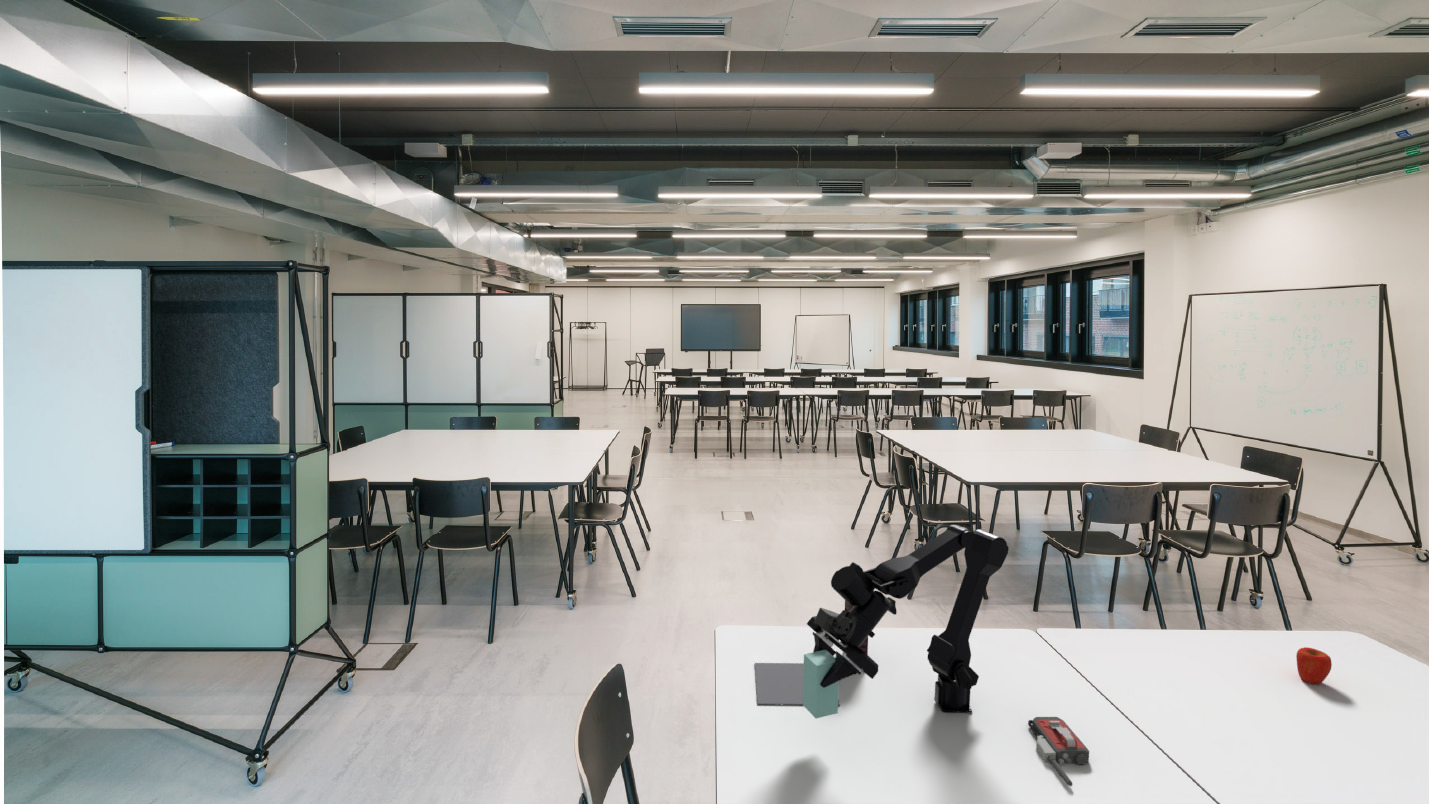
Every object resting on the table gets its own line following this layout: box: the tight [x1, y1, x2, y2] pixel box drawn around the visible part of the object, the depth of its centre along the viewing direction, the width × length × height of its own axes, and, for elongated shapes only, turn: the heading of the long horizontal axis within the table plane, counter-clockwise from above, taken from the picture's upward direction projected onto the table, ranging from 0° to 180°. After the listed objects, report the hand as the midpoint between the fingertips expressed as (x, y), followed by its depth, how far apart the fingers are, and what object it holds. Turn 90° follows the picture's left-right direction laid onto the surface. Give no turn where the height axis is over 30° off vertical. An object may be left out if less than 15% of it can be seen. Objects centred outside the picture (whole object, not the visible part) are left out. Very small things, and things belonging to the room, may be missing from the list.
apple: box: [1295, 647, 1333, 685], centre depth 168 cm, size 6×6×8 cm
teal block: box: [802, 650, 839, 719], centre depth 143 cm, size 5×5×11 cm
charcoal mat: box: [754, 662, 841, 706], centre depth 167 cm, size 18×18×1 cm
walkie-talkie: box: [1027, 716, 1090, 787], centre depth 140 cm, size 9×4×20 cm
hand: (814, 679), depth 142 cm, fingers closed on teal block, 5 cm apart
